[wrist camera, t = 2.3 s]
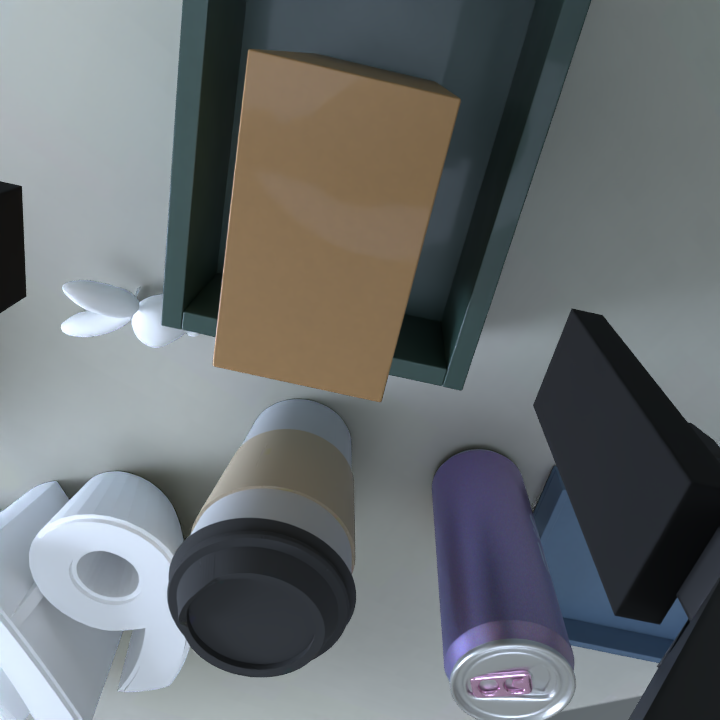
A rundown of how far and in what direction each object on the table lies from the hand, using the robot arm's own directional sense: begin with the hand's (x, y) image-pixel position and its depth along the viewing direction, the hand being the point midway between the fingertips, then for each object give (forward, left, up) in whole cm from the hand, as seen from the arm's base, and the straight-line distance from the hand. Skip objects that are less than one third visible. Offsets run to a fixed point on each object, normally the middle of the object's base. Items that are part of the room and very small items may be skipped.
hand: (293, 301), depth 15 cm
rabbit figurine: (+11, +10, -20) cm, 25 cm away
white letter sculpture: (+20, +33, -20) cm, 43 cm away
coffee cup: (0, +18, -20) cm, 27 cm away
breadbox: (0, -2, -20) cm, 20 cm away
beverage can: (-12, +18, -20) cm, 30 cm away
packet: (0, 0, -19) cm, 19 cm away
